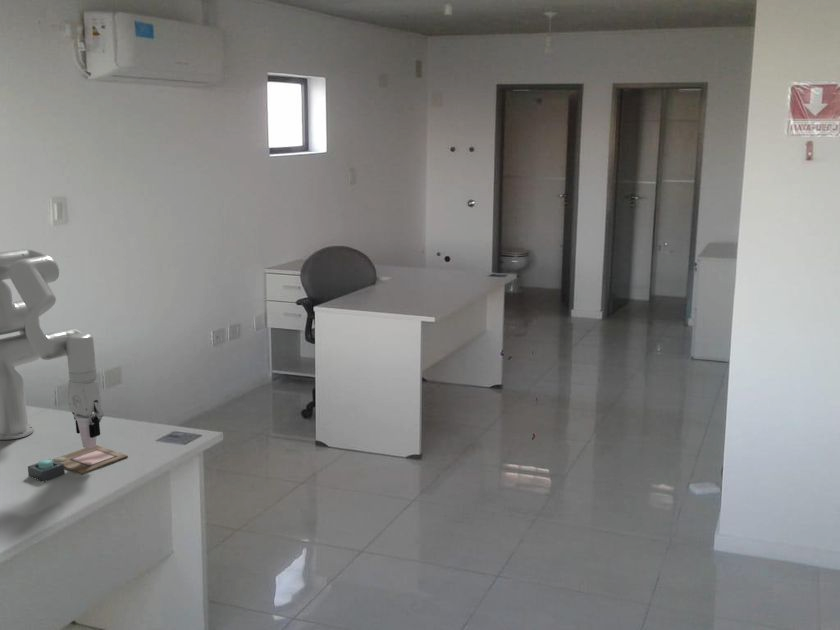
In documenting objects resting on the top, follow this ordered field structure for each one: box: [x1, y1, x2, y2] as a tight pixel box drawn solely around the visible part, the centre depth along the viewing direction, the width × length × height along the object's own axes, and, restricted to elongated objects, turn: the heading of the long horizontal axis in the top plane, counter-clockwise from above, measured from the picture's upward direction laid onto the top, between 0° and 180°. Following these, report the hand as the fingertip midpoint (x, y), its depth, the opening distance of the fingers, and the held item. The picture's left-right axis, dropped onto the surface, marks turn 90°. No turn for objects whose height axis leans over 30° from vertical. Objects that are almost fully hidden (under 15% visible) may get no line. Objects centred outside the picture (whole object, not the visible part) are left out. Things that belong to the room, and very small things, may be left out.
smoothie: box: [75, 412, 98, 449], centre depth 276 cm, size 6×6×14 cm
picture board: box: [51, 444, 129, 475], centre depth 279 cm, size 16×16×1 cm
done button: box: [37, 458, 53, 470], centre depth 268 cm, size 4×4×3 cm
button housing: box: [27, 458, 66, 482], centre depth 268 cm, size 7×7×3 cm
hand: (88, 433), depth 277 cm, fingers closed on smoothie, 5 cm apart
